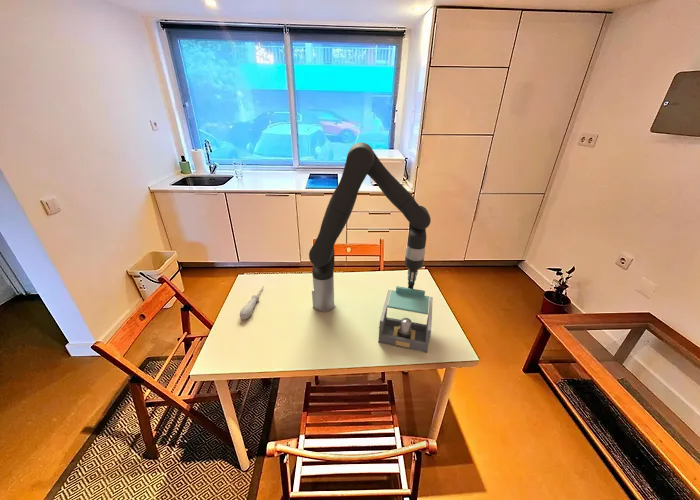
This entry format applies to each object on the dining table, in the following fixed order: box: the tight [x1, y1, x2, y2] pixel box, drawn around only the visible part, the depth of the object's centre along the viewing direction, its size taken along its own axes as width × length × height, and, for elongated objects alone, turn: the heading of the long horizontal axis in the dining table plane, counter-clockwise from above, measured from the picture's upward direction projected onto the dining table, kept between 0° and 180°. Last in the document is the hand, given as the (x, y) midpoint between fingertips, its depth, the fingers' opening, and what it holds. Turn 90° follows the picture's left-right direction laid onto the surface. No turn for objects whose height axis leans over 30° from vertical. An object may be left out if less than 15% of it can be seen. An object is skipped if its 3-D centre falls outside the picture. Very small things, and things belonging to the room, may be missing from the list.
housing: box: [377, 289, 434, 353], centre depth 119 cm, size 19×20×12 cm
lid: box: [387, 285, 430, 316], centre depth 119 cm, size 16×11×3 cm
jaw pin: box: [399, 317, 413, 339], centre depth 114 cm, size 4×4×9 cm
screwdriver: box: [239, 286, 265, 320], centre depth 136 cm, size 5×25×4 cm, turn 175°
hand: (410, 289), depth 125 cm, fingers closed
